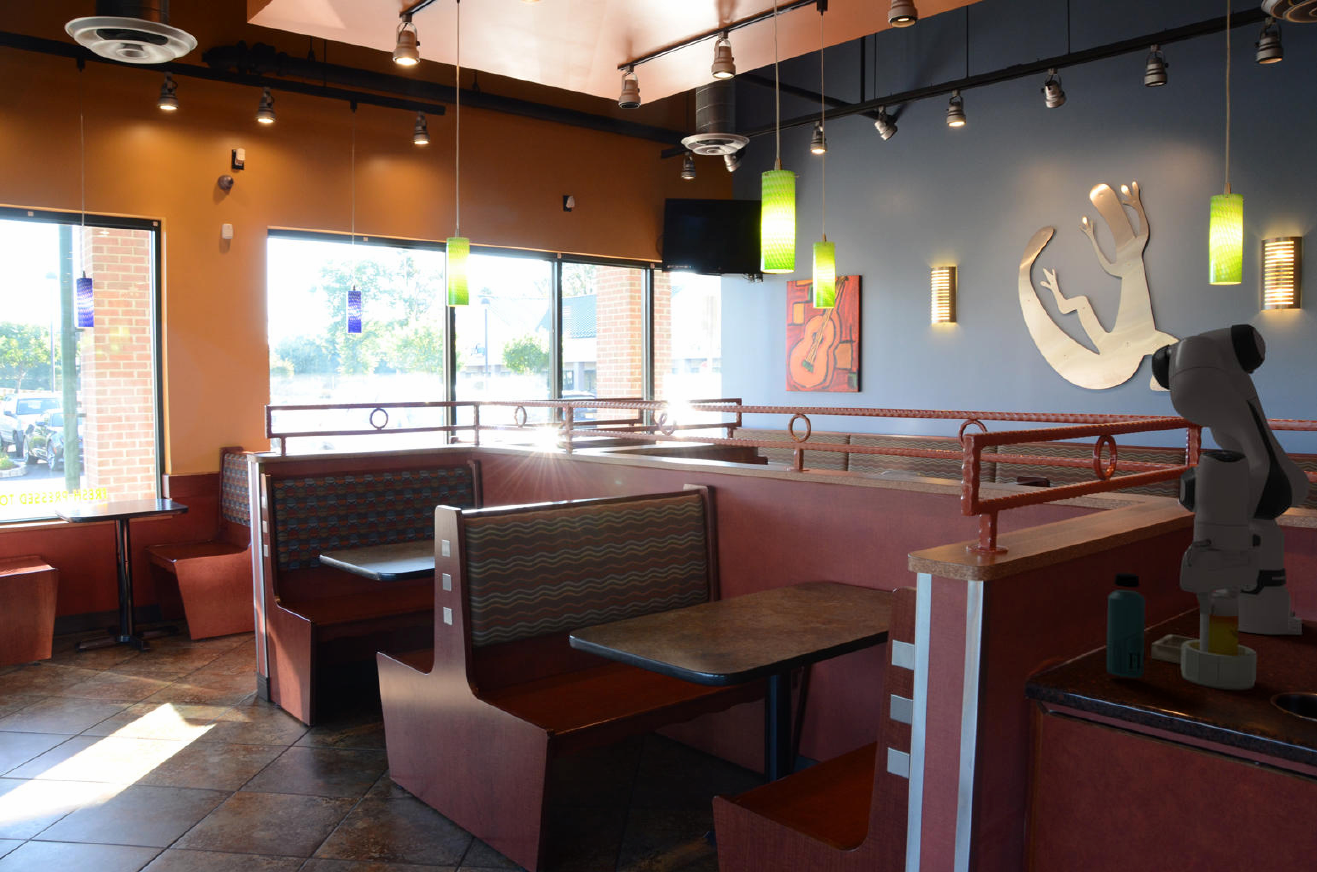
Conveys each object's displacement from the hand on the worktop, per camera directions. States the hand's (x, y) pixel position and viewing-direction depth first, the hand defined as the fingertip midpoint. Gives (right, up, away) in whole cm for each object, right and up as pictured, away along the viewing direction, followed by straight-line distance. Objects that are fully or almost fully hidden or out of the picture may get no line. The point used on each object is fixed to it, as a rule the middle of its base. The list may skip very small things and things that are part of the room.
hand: (1218, 611), depth 173 cm
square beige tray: (+3, -12, +15) cm, 19 cm away
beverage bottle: (-17, -13, 0) cm, 22 cm away
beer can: (0, -12, 0) cm, 12 cm away
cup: (0, -13, 0) cm, 13 cm away
